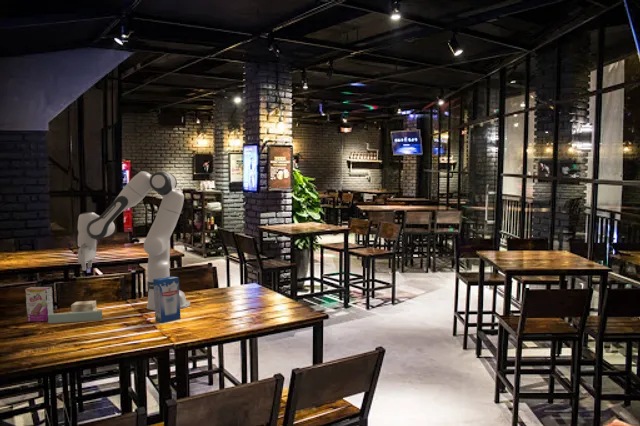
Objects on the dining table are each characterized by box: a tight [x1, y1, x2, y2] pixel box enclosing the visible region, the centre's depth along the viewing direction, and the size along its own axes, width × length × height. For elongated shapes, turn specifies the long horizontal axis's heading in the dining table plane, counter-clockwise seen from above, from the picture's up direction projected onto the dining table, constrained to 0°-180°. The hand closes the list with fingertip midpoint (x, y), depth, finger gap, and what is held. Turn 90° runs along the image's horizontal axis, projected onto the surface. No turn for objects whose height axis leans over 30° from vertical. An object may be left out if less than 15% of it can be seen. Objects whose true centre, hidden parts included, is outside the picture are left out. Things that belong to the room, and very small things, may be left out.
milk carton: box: [153, 275, 182, 324], centre depth 256 cm, size 10×6×20 cm, turn 134°
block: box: [70, 300, 98, 312], centre depth 275 cm, size 10×8×6 cm
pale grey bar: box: [47, 310, 103, 324], centre depth 261 cm, size 24×3×4 cm, turn 98°
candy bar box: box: [24, 286, 54, 323], centre depth 263 cm, size 11×5×16 cm, turn 84°
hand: (86, 269), depth 283 cm, fingers open, 8 cm apart
